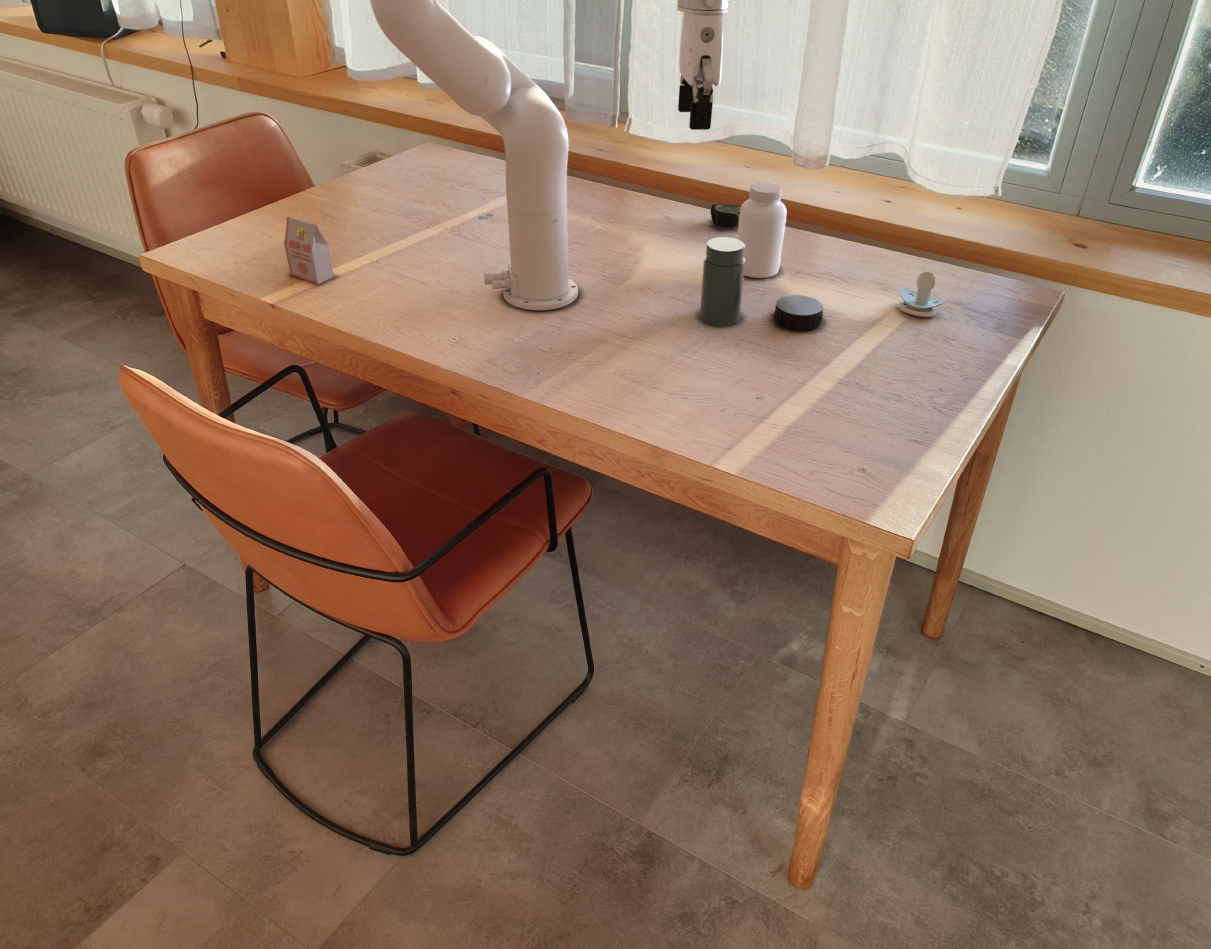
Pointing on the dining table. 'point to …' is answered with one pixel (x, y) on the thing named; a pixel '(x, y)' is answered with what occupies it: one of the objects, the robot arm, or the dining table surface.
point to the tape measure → (726, 215)
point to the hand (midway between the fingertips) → (693, 120)
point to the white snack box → (307, 252)
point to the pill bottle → (762, 229)
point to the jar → (722, 281)
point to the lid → (798, 313)
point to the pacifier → (920, 297)
